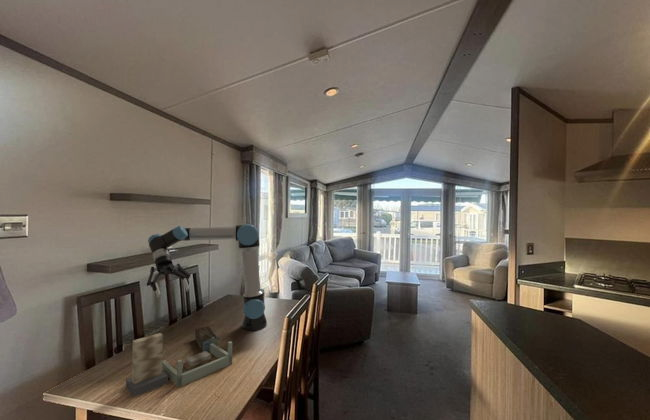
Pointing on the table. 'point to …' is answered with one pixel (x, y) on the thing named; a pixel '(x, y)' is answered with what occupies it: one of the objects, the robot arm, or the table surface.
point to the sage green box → (201, 371)
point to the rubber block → (146, 384)
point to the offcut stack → (196, 361)
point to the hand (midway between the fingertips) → (174, 292)
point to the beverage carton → (205, 338)
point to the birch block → (147, 357)
